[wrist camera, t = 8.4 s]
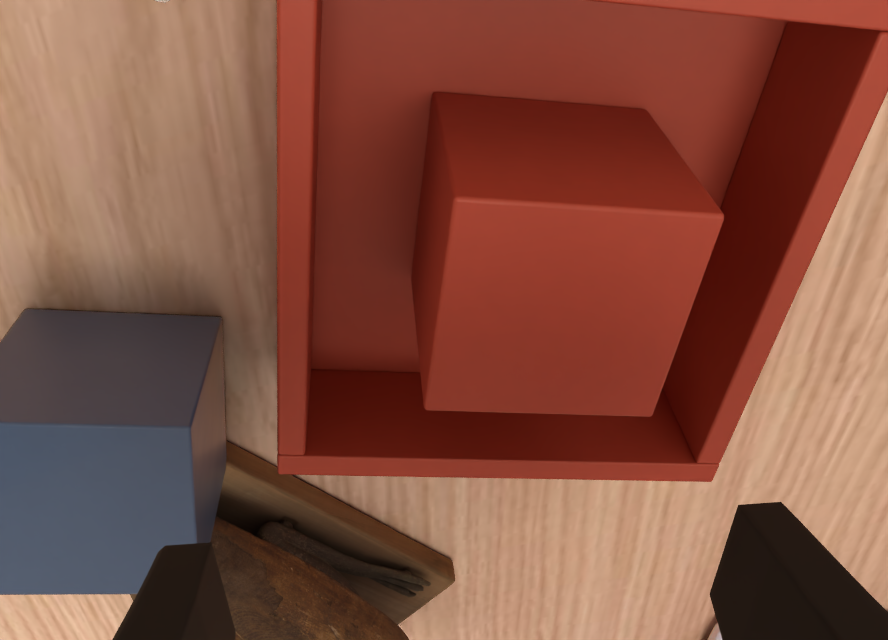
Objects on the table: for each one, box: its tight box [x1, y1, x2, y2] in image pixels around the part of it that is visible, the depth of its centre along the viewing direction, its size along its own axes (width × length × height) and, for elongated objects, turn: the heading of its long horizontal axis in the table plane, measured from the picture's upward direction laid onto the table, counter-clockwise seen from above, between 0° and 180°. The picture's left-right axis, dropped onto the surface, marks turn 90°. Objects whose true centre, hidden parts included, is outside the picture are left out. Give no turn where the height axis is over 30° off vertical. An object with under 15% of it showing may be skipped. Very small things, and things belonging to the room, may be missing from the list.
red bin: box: [277, 0, 888, 482], centre depth 17 cm, size 11×10×4 cm
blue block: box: [0, 309, 227, 595], centre depth 18 cm, size 4×4×4 cm
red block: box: [411, 92, 724, 417], centre depth 16 cm, size 4×4×4 cm
